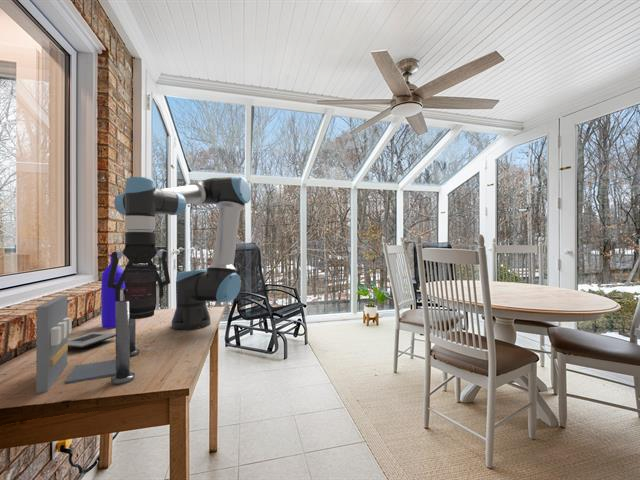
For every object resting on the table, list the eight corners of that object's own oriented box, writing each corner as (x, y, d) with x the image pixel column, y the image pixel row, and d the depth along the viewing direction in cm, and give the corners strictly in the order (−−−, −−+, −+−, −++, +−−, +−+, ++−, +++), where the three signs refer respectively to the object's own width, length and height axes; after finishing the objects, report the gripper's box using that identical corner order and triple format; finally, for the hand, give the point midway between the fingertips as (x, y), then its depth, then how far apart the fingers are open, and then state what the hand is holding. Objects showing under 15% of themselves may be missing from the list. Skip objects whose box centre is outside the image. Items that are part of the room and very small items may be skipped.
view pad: (122, 360, 90) (122, 358, 90) (117, 374, 80) (117, 372, 80) (75, 367, 85) (75, 365, 85) (64, 383, 75) (64, 381, 75)
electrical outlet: (81, 352, 95) (81, 344, 95) (55, 350, 98) (55, 342, 98) (117, 339, 108) (117, 332, 108) (93, 337, 110) (93, 331, 110)
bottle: (112, 322, 131) (112, 253, 131) (130, 323, 130) (130, 253, 130) (96, 328, 123) (96, 254, 123) (114, 328, 122) (114, 254, 122)
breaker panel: (73, 364, 87) (73, 294, 87) (55, 390, 72) (55, 305, 72) (58, 366, 85) (58, 295, 85) (36, 393, 70) (36, 307, 70)
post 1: (135, 374, 80) (135, 298, 80) (133, 382, 76) (133, 302, 76) (112, 378, 78) (112, 300, 78) (109, 386, 73) (109, 304, 73)
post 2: (139, 350, 98) (139, 288, 98) (138, 355, 93) (138, 290, 93) (121, 353, 95) (121, 289, 96) (119, 358, 91) (119, 292, 91)
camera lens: (134, 321, 82) (133, 266, 82) (118, 317, 86) (118, 265, 86) (162, 315, 88) (162, 264, 89) (147, 312, 93) (147, 263, 93)
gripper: (179, 232, 95) (179, 304, 95) (98, 231, 85) (97, 311, 85) (181, 231, 89) (181, 309, 89) (93, 230, 79) (93, 317, 79)
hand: (140, 310), depth 87 cm, fingers closed on camera lens, 8 cm apart
